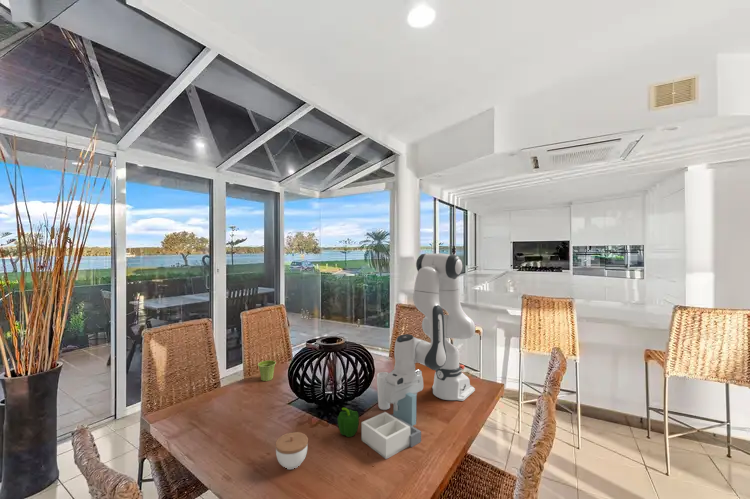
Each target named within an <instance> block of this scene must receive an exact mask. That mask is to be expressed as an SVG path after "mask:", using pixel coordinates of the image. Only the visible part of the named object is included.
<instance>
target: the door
mask: <svg viewBox="0 0 750 499" xmlns="http://www.w3.org/2000/svg"><path fill="white" fill-rule="evenodd" d="M397 405H398V406H399V410H398V411H395V410H394V405H393V404H392V406H393V411H392V412H393V413H392V414H393V415H395V416H396V417H398V418H400V419H401V420H403V421H405V422H406V423H408V424H410V425H411V426H413V427H414V426H415V425H417V396H416V395H415V394H413V393H410V392H409V393H407V394H406V397H405V398H403V399H401V400H398V403H397Z"/></svg>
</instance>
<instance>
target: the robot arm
mask: <svg viewBox="0 0 750 499" xmlns="http://www.w3.org/2000/svg"><path fill="white" fill-rule="evenodd" d="M415 266H416V270H417V274H416V277H415V282H414V288H413V294H412V296H413V297H412V302H413V305H414V307H416V309H417V310H418V311H419V312H420V313H422V314H423V315H424V317H423V318H422V322H421V328H422V331H423V333H424V334H425V335H426V336H427V337H429V338H430V342H428V341H426V340H424V339H421V338H417V337H414V335H412V334H409V333H408V334H407V333H406V334H401V335H398V336H397V337H396V340H395V341H394V342H395V343H394V353H393V354H394V362H395V363H394V368H393V369H392V370H391V371H390V372H388V373H389V374H388V375H386V377H385V381H387V382H386V384H385V390H384V398H385V400H386V401H387V402H389V403H390V404H392V406H393V405H394V410H395V411H398V410H399V406H398V405H397V403H398V400H401V399H403V398H405V397H406V394H407V393H409V392H410V393H413V394H415V395H416V397H417V396H418V393H419V392H422V391H423V390H424V377H423V372H422V370H421V369H419V368H417V369H416V364H417V363H418V364H421V365H423V366H425V367H426V368H428V369H430V370H433V371H435V372H434V377H433V385H432V387H431V388H432V394H433V395H434V396H435V397H437V398H439V399H441V400H445V401H461V402H462V401H463V402H464V401H465V400H466V399H467V398H468V397H470V395H472V394H473V393H474V392H475V391H476V388H475V387H474V386H473V385H471V382H470V381H471V380H470V378H469V377H468V376H467V375H466V374H464V373H463V372H462V370H464V369H465V368H466V366H465V365H463V364H460V351H459V349H458V347H457V346H455V345H454V344H453V343H451V342H450V341H449V340H448V339H454V340H455V339H456V340H469V339H470V340H471V338H473V337H474V335H475V333H476V324H475V322H474V320H473V319H472V318H471V317H469V315H467V314H466V312H465V311H464V310H463V307H462V304H461V297H460V294H461V293H460V277H459V276H460V275H461V274H462V272H463V269H464V268H463V267H464V264H463V260H462V259H461V256H458V255H456V254H448V253H443V252H442V253H441V252H438V253H428V252H426V253H421V254H420V255H419V256H418V258H417V260H416V263H415ZM444 311H446V312H447V313H448V314H444Z"/></svg>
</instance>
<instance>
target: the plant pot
mask: <svg viewBox="0 0 750 499" xmlns="http://www.w3.org/2000/svg"><path fill="white" fill-rule="evenodd" d="M276 364H277V362H276V361H275V360H270V359H269V360H262V361H259V362H258V363H257V367H258V368H259V373H260V380H261V381H263V382H264V381H266V382H270V381H272V379H273V378H274V373H275V372H274V371H275V366H276Z"/></svg>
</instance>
